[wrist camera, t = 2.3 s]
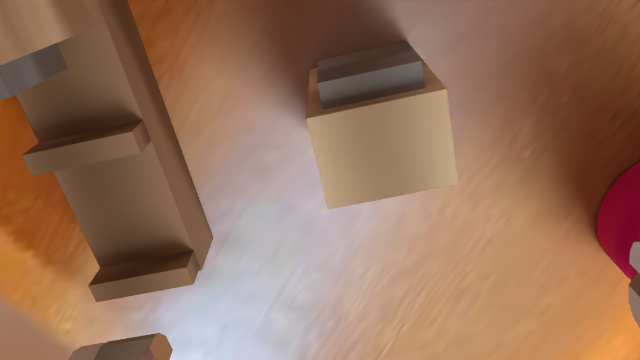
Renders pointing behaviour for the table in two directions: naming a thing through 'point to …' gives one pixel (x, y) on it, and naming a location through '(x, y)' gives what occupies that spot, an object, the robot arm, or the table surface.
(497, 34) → the table surface
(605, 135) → the table surface
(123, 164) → the rail
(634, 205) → the pepper mill
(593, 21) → the table surface
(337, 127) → the grey-banded wooden block
